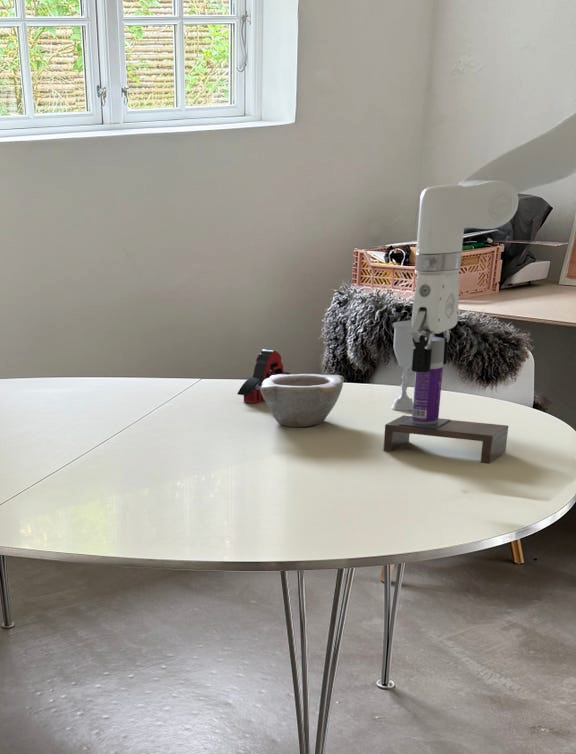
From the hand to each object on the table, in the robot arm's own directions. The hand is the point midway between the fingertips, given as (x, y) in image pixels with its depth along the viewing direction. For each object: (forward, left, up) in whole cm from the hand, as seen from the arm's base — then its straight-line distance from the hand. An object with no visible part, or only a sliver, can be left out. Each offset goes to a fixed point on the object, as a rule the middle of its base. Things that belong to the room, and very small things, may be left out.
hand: (429, 367), depth 173 cm
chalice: (+17, -29, -15) cm, 37 cm away
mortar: (+31, -9, -15) cm, 36 cm away
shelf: (-4, 0, -15) cm, 16 cm away
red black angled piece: (+50, -27, -16) cm, 59 cm away
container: (0, 0, -10) cm, 10 cm away
